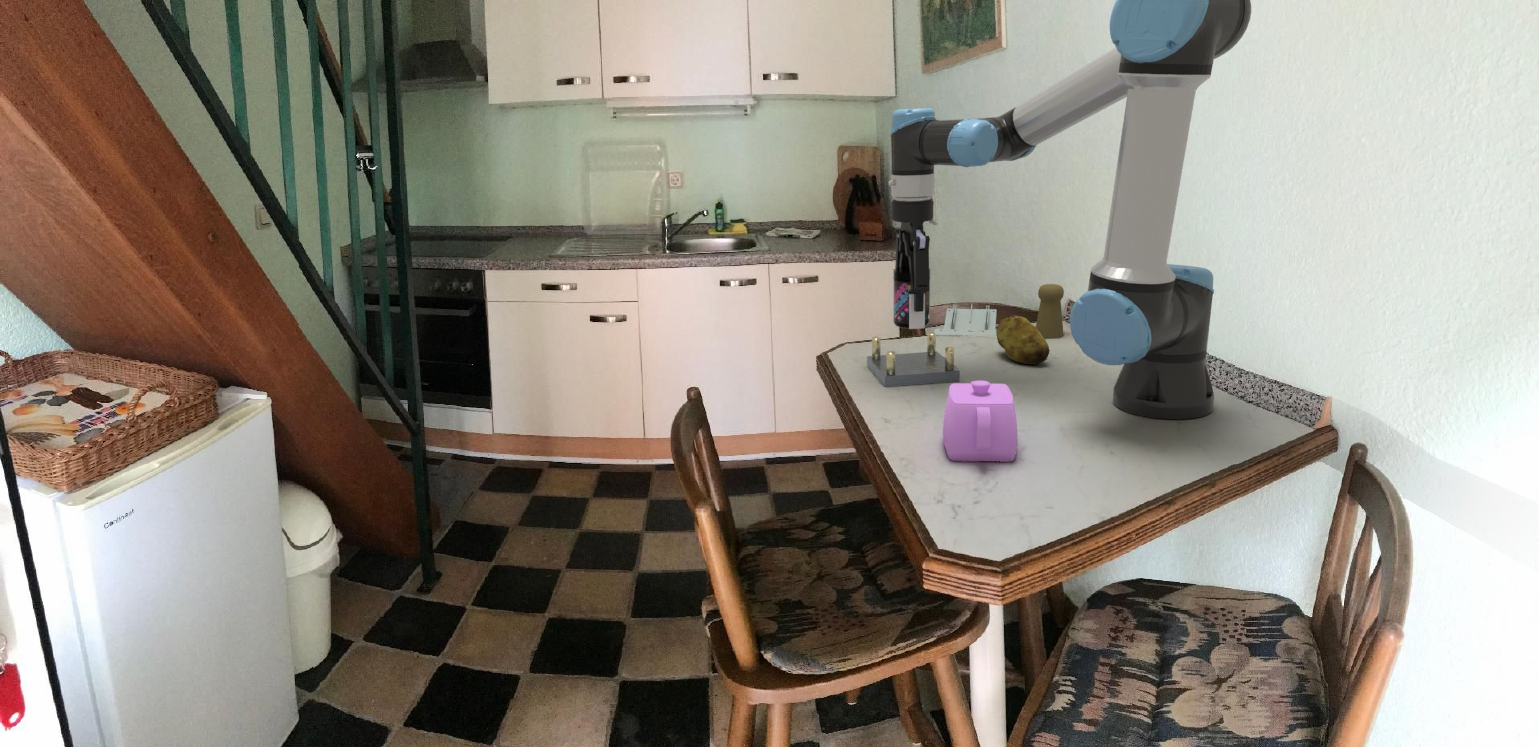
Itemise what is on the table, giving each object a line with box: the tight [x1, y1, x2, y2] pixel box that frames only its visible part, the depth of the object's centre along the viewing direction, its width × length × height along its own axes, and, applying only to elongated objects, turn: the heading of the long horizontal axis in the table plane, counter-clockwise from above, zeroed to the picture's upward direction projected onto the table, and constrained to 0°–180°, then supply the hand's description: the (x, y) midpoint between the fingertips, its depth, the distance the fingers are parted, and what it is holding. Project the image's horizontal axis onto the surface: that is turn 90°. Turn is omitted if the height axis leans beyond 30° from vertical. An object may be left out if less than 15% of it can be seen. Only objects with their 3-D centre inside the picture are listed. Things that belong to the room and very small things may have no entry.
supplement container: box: [892, 267, 931, 329], centre depth 165 cm, size 7×7×10 cm
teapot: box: [942, 380, 1018, 463], centre depth 131 cm, size 18×10×10 cm, turn 171°
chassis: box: [866, 332, 961, 388], centre depth 168 cm, size 14×14×6 cm
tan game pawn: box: [1035, 283, 1065, 340], centre depth 191 cm, size 6×6×11 cm
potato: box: [996, 315, 1051, 365], centre depth 174 cm, size 8×13×8 cm, turn 0°
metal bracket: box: [933, 304, 998, 338], centre depth 199 cm, size 14×6×15 cm
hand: (911, 323), depth 167 cm, fingers closed on supplement container, 7 cm apart
